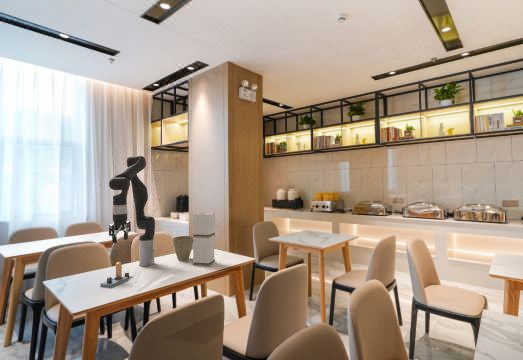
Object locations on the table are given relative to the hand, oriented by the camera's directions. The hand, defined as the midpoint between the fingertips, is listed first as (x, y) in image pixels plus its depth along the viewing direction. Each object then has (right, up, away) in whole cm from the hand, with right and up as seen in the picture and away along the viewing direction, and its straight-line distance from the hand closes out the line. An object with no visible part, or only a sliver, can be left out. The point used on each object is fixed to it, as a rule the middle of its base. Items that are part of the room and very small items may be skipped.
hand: (120, 241), depth 163 cm
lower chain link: (+1, -23, +1) cm, 23 cm away
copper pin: (0, -24, -2) cm, 23 cm away
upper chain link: (-1, -23, -5) cm, 24 cm away
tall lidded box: (+40, -24, +38) cm, 60 cm away
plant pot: (+22, -24, +49) cm, 59 cm away
